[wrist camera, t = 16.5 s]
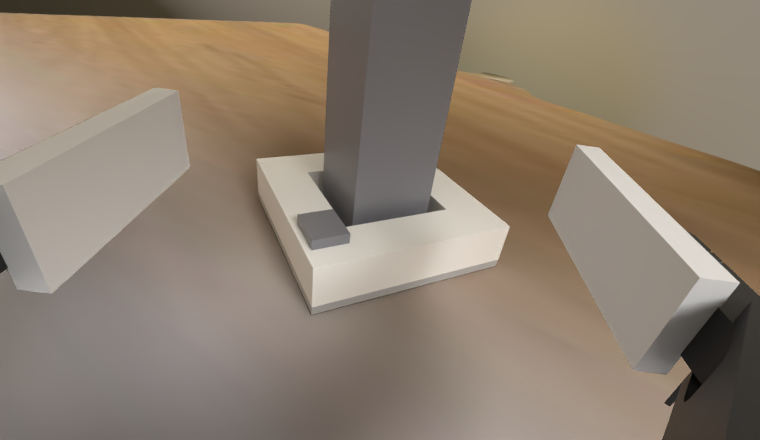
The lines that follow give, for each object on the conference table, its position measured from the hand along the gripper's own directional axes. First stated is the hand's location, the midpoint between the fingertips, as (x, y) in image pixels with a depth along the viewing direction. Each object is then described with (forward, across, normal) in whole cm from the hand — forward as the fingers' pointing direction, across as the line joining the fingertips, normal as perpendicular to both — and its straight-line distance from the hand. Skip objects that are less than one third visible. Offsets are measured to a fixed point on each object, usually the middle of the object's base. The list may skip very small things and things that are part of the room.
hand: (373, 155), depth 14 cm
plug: (+10, 0, -9) cm, 13 cm away
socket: (+10, 0, -10) cm, 14 cm away
